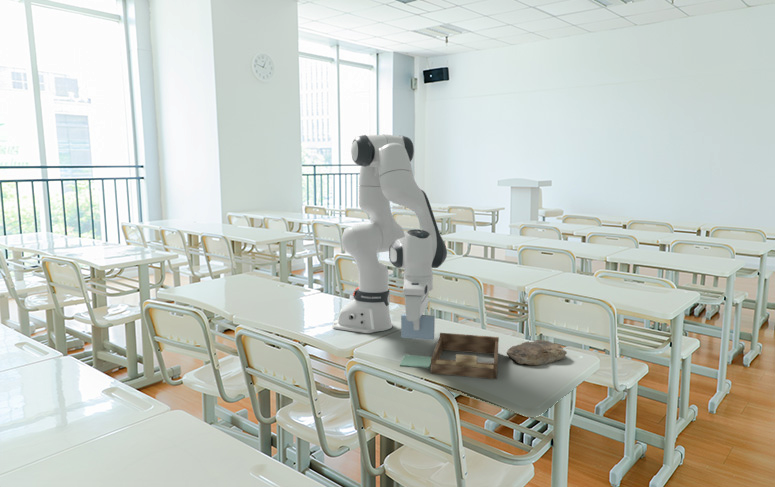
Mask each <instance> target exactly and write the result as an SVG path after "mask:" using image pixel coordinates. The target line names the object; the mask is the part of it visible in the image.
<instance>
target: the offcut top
mask: <svg viewBox="0 0 775 487" xmlns="http://www.w3.org/2000/svg"><path fill="white" fill-rule="evenodd" d="M477 358H478V357H477V355H471V354H470V355H469V354H459V353H458V354H457V353H456V354H455V360H456V366H463V367H476V365H477V362H478V359H477Z"/></svg>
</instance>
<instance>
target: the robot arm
mask: <svg viewBox="0 0 775 487" xmlns="http://www.w3.org/2000/svg"><path fill="white" fill-rule="evenodd" d="M350 153H351V158H352V161H353V162H354V163H355V165H357V166H360V168H359V169H360V170H359V177H358V178H359V180H358V204H359V207H360V209H361V210H362V211H363V212H364V213H367V214H368V217H369V220H370V223H364V224H355V225H353V226H352V225H351V226H349V227H346V228H345V229H344V230H343V232H342V235H341V244H342V248H343V250H345V252H346V253H348V254H349V255H350V256H351V257H352V258H353V260H354V261H355V265H356V268H357V273H358V287H356V288H355V290H353V292H352V296H353V299H352V300H350V301H349V302H347V303H346V304H345V305H343V307H341V309H340V311H339V314H338V318H336V319H335V320H334V321H333V322H332V328H333V329H335V330H342V331H347V332H348V331H350V332H353V333H354V332H355V333H356V332H357V333H361V334H362V333H363V334H372V333H376V332H383V331H387V330H390V329H392V328H393V323H392V319H391V314H390V302H391V299H390V298H391V292H390V289H389V269H388V268H387V266H386V265H385V264H383V263H381V262H380V261H379V258H378V253H388V256H389V257H388V258H389V262H390V263H391V264H392V265H393V266H394V267H395V268H396V269H404V271H403V288H402V295H403V296H404V308H405V309H404V310H405V314H406V318H407V321H413V324H414V330H419V329H420V318H421V316H422V315H424V313H425V311H426V310H427V308H428V306H429V292H431V291H432V290H433V282H434V280H433V279H434V276H433V274H434V273H433V269H437V268H439V267H441V265H443V263H445V261H446V259H447V255H448V250H447V247H446V244H445V242H444V240H443V237H442V236H441V233H440V229H439V227H438V224H437V222H436V218H435V216H434V213H433V209H432V207H431V204H430V201H429V198H428V196H427V193H426V192H425V191H424V190H422V189H421V188H420V186H418V184H417V182H416V180H415V178H414V173H413V168H412V164H411V162H412V160H413V157H414V153H415V149H414V143H413V141H412V140H411V138H410V137H407V136H404V135H394V134H393V135H392V134H375V135H374V134H371V135H366V134H364V135H359V136H356V137H355V138H354V139H353V141H352V143H351V149H350ZM390 202H392V203H393V204H395V205H399V206H402V207H404V208H407V209H408V210H410V211H412V212H413V213H415V215H416V216H417V218H418V222H419V224H420V228H421V229H409V230H408V231H406V232H405V231H404V228H403V227H402V226H401V225H400V224H399V223H398V222H397V221H396V219H395V218H394V216H393V214H392V210H391V205H390V204H391V203H390Z"/></svg>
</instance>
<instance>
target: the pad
mask: <svg viewBox="0 0 775 487" xmlns="http://www.w3.org/2000/svg"><path fill="white" fill-rule="evenodd" d="M431 357H432V356H425V355H414V354H413V355H412V354H404V356H403V358H402V360H401V362H400V364H399V367H406V368H407V367H408V368H409V367H410V368H418V367H424V368H423V369H430V368H431Z"/></svg>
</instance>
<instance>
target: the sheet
mask: <svg viewBox="0 0 775 487" xmlns="http://www.w3.org/2000/svg"><path fill="white" fill-rule="evenodd" d="M435 317H436V316H435V315H429V314H427V315H426V314H423V315H422V316H421V318H420V329H419V330H414V324H413V321H407V318H406V313H402V314H401V315H400V318H401V320H400V321H401V322H400V323H401V324H400V325H401V326H400V328H401V329H400V334H401V335H400V338H403V339H415V340H417V339H419V340H432V341H434V340H435V321H436V318H435Z"/></svg>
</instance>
